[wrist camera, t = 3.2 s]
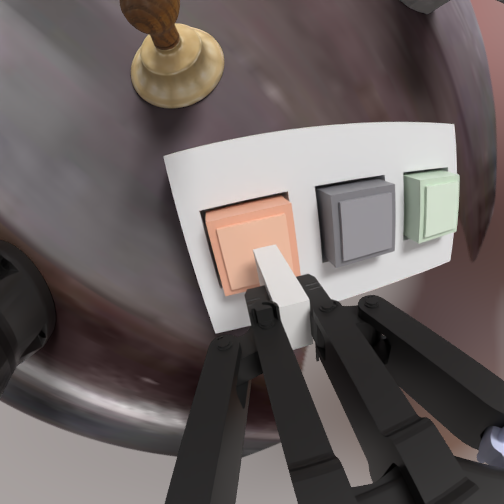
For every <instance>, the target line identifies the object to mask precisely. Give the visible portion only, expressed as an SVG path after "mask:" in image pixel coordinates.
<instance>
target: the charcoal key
mask: <svg viewBox="0 0 504 504" xmlns="http://www.w3.org/2000/svg"><path fill="white" fill-rule="evenodd" d="M315 190H316V198H317V207H318V216H319V226H320V237H321V248H322V254H323V255H324V256H325V257H326V258H327V259H328V260H329V262H330V263H331V264H332V265H333V266H334V267H335V268H338V267H342V266H345V265H349V264H353V263H356V262H360V261H363V260H366V259H370V258H373V257H377V256H380V255H383V254H387V253H390V252H393V251H395V227H396V201H395V184H393V183H390V182H387V181H384V180H380V179H377V178H371V179H365V180H359V181H352V182H346V183H340V184H335V185H329V186H323V187H318V188H315Z"/></svg>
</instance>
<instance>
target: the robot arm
mask: <svg viewBox="0 0 504 504" xmlns="http://www.w3.org/2000/svg"><path fill="white" fill-rule="evenodd" d="M253 253H254V258H255V263H256V268H257V273H258V278H259V283H260V286H259V287H255V288H251V289H247V290H246V293H245V295H244V296H245V300H246V304H247V309H248V314H249V318H250V322H251V327H250V329H249V330H248V332H247V333H245V334H244V335H242V336H240V337H238V338H237V337H235V336H233V335H222V336H219V337H217V338H215V339H214V340H213V341H212V342H211V344H210V345H209V348H208V352H207V355H206V359H205V362H204V365H203V369H202V372H201V376H200V379H199V382H198V386H197V389H196V393H195V396H194V400H193V403H192V407H191V410H190V414H189V417H188V421H187V424H186V428H185V431H184V435H183V438H182V442H181V446H180V449H179V453H178V456H177V460H176V464H175V467H174V471H173V475H172V478H171V482H170V486H169V489H168V493H167V497H166V501H165V504H235V502H236V495H237V487H238V480H239V473H240V466H241V458H242V451H243V443H244V435H245V427H246V420H247V412H248V403H249V395H250V387H251V379H253V378H255V377H257V376H258V375H260V374H262V373H263V374H264V378H265V382H266V386H267V390H268V394H269V398H270V402H271V406H272V409H273V413H274V417H275V421H276V425H277V428H278V432H279V436H280V440H281V443H282V447H283V451H284V454H285V458H286V462H287V465H288V469H289V473H290V477H291V480H292V483H293V487H294V491H295V494H296V498H297V501H298V504H504V381H503V380H502V379H501V378H499V377H498V376H496V375H495V374H494V373H492V372H491V371H489V370H488V369H487V368H485V367H484V366H483V365H481V364H480V363H478V362H477V361H475V360H474V359H473V358H471V357H470V356H468V355H467V354H465V353H464V352H462V351H461V350H460V349H458V348H457V347H455V346H454V345H452V344H451V343H450V342H448V341H447V340H445V339H444V338H442V337H441V336H439V335H438V334H436V333H435V332H433V331H432V330H430V329H429V328H427V327H426V326H424V325H423V324H421V323H420V322H418V321H417V320H415V319H414V318H412V317H410V316H409V315H408V314H406V313H404V312H403V311H401V310H400V309H399V308H397V307H395V306H394V305H392V304H391V303H389V302H388V301H386V300H385V299H383V298H381V297H379V296H375V295H369V296H365V297H362V298H361V299H360V300H359V302H358V305H357V306H342V305H341V304H340V303H339V302H338V301H336V300H333V299H331V298H330V297H329V296H328V294H327V293H326V291H325V290H324V289H323V287H322V286H321V285H320V283H319V282H318V280H317V279H316V278H315V277H314V276H312V275H310V274H305V275H301V276H297V277H296V276H295V275H294V273H293V271H292V270H291V268H290V267H289V265H288V263H287V262H286V260H285V258H284V257H283V255H282V254H281V252H280V250H279V249H278V247H277V245H276V244H275V245H270V246H266V247H262V248H257V249H253ZM55 322H56V313H55V307H54V302H53V299H52V296H51V293H50V291H49V289H48V286H47V284H46V282H45V280H44V279H43V277H42V275H41V274H40V272H39V271H38V269H37V268H36V266H35V265H34V264H33V263H32V261H31V260H30V259H29V258H28V257H27V256H26V255H25V254H24V253H23V252H22V251H21V250H19V249H18V248H17V247H15V246H14V245H12V244H10V243H8V242H5V241H2V240H0V398H1V396H2V394H3V392H4V390H5V388H6V386H7V384H8V381H9V380H10V378H11V376H12V374H13V372H14V370H15V368H16V367H17V366H18V365H19V364H20V363H22V362H23V361H24V360H26V359H27V358H29V357H30V356H31V355H33V354H34V353H35V352H37V351H38V350H40V349H41V348H42V347H43V346H44V345H45V344H46V343H47V341H48V339H49V337H50V336H51V334H52V332H53V330H54V327H55ZM382 334H383V335H384V336H383V335H382ZM312 337H313V339H314V341H315V344H316V360H317V361H319V358H320V360H321V362H322V364H323V366H324V368H325V370H326V373H327V375H328V377H329V379H330V381H331V383H332V385H333V387H334V389H335V392H336V394H337V396H338V398H339V400H340V402H341V404H342V406H343V409H344V411H345V413H346V415H347V417H348V419H349V421H350V423H351V425H352V428H353V430H354V432H355V434H356V437H357V439H358V441H359V443H360V445H361V447H362V450H363V452H364V454H365V456H366V458H367V461H368V464H369V471H370V476H371V479H372V481H373V484H368V485H363V486H358V487H351V486H350V483H349V481H348V478H347V476H346V474H345V471H344V468H343V466H342V464H341V462H340V460H339V459H338V458H337V457H336V456H335V455H334V453H333V450H332V448H331V445H330V443H329V441H328V438H327V435H326V433H325V430H324V428H323V425H322V423H321V420H320V417H319V415H318V413H317V410H316V408H315V405H314V402H313V400H312V398H311V395H310V392H309V390H308V387H307V385H306V382H305V380H304V377H303V375H302V372H301V369H300V367H299V364H298V362H297V359H296V357H295V354H294V352H293V350H294V349H297V348H301V347H304V346H308V345H311V344H313V339H312ZM399 387H401V388H402V389H403V390H404V391H405V392H406V393H407V394H408V395H409V396H411V397H412V398H413V399H414V400H415V401H416V402H418V404H420V405H421V406H422V407H423V408H424V409H425V410H427V411H428V412H429V413H430V414H431V415H432V416H433V417H434V418H435V419H437V420H438V421H439V422H440V423H441V424H442V425H443V426H444V427H446V428H447V429H448V430H449V431H450V432H451V433H452V434H453V435H455V436H456V437H457V438H458V439H460V440H461V441H462V442H464V443H465V444H467V445H469V446H471V447H472V448H475V449H477V450H479V452H478V454H477V460H478V461H479V462H480V463H479V462H474V461H471V460H467V459H463V458H460V457H456V456H454V455H453V453H452V452H451V450H450V449H449V447H448V445H447V444H446V443H445V440H444V439H443V437H442V436H441V434H440V433H439V431H438V429H437V428H436V426H435V425H434V423H433V422H432V421H431V420H430V419H428V418H425V417H424V418H421V417H419V416H418V415H417V414H416V412H415V411H414V409H413V408H412V406H411V405H410V403H409V402H408V400H407V398H406V397H405V395H404V394H403V392H402V391H401V389H400V388H399ZM484 462H486V463H487V464H488V465H487V464H482V463H484Z"/></svg>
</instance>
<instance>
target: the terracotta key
mask: <svg viewBox="0 0 504 504" xmlns="http://www.w3.org/2000/svg"><path fill="white" fill-rule="evenodd" d="M206 226H207V230H208V233H209V237H210V241H211V245H212V249H213V253H214V256H215V260H216V264H217V268H218V271H219V275H220V279H221V282H222V286H223V289H224V293H225V296H229V295H233V294H238V293H242V292H246V290H247V289H251V288H255V287H259V286H260V283H259V278H258V273H257V268H256V263H255V258H254V253H253V249H257V248H262V247H266V246H270V245H275V244H276V245H277V247H278V249H279V250H280V252H281V254H282V255H283V257H284V258H285V260H286V262H287V263H288V265H289V267H290V268H291V270H292V271H293V273H294V275H295V276H296V277H297V276H301V273H300V265H299V256H298V248H297V240H296V233H295V225H294V218H293V211H292V204H291V202H289V201H288V200H287V199H285V198H284V197H283V196H281V195H277V196H272V197H267V198H262V199H257V200H253V201H248V202H244V203H239V204H235V205H230V206H226V207H222V208H218V209H213V210H209V211H206Z"/></svg>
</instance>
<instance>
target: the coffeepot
mask: <svg viewBox="0 0 504 504" xmlns="http://www.w3.org/2000/svg"><path fill="white" fill-rule="evenodd" d="M400 1H401V2H403V3H404V4H405V5H406V6H408V7H409V8H411V9H413V10H415V11H418V12H421V13H425V14H427V15H428V14H429V13H431V12H432V11H434V10H435V9H437V8H439V7H440V6H442V5H443V4H445V3H447V2H448V1H450V0H400ZM497 1H500V2H502V3H504V0H497Z"/></svg>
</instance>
